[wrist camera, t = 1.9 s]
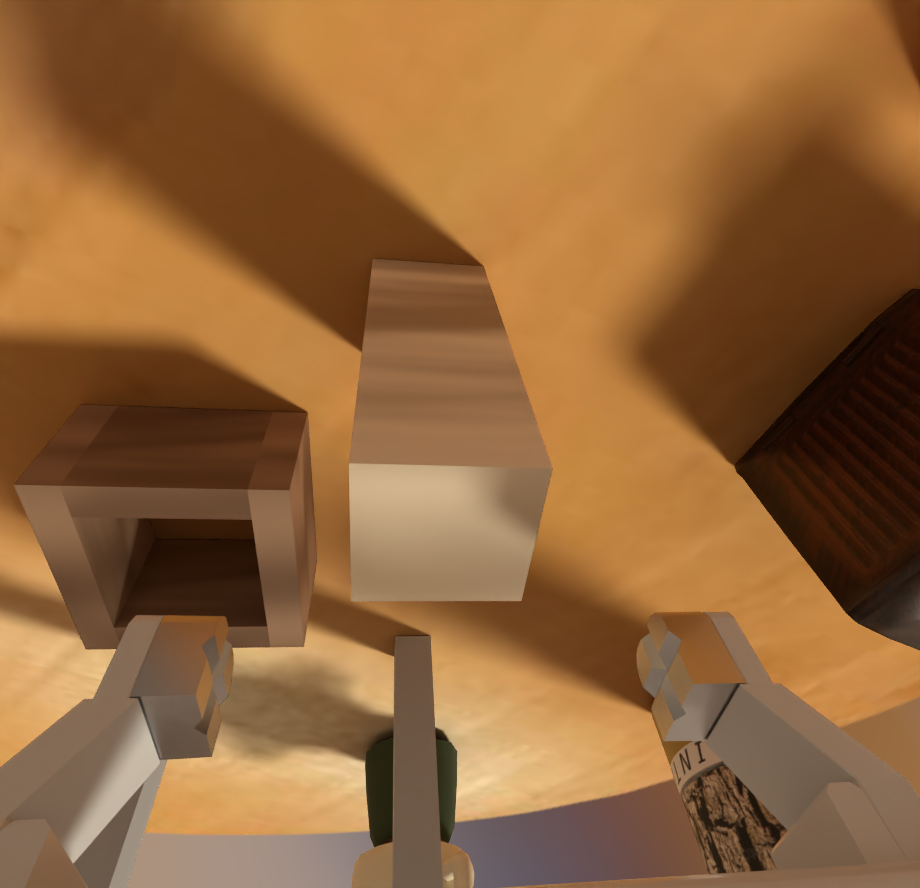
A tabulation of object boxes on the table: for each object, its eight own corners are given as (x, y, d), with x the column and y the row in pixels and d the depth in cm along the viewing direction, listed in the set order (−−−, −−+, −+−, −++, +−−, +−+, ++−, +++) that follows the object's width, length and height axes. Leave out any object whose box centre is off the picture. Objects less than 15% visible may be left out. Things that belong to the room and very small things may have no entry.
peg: (372, 258, 21) (348, 462, 11) (483, 265, 21) (552, 468, 12) (371, 358, 23) (351, 601, 14) (471, 363, 24) (521, 600, 14)
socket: (80, 404, 23) (13, 484, 19) (307, 412, 24) (289, 490, 20) (130, 559, 28) (85, 649, 24) (317, 560, 29) (303, 646, 25)
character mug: (413, 792, 45) (417, 1029, 34) (328, 773, 42) (304, 1025, 31) (498, 722, 40) (533, 973, 29) (408, 695, 37) (411, 962, 27)
